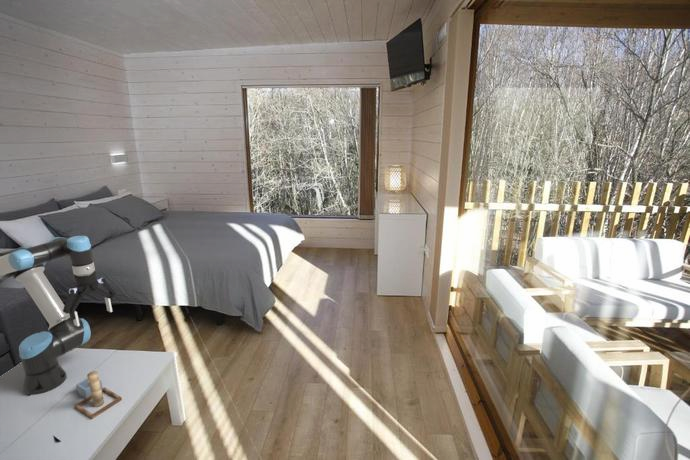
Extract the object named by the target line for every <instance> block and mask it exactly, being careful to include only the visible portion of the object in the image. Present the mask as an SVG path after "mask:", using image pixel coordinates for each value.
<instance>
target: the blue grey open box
mask: <svg viewBox="0 0 690 460" xmlns="http://www.w3.org/2000/svg"><path fill="white" fill-rule="evenodd" d="M99 380H100V379H99ZM102 383H103V382H102V380H100V385H101V389H103V388H104V387H103V384H102ZM76 389H77V390H76V391H77V393H78V395H80V396H82V397H83V398H84V399H86V398H88V397H89V396H91V391H90V386H89V382H88V377H87V378H86V379H84V380H82V381H80V382H78V383H76Z"/></svg>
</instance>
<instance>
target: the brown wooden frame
mask: <svg viewBox="0 0 690 460" xmlns="http://www.w3.org/2000/svg"><path fill="white" fill-rule="evenodd" d="M101 390H102V394H103V393H105V394H107V395H108V396H111V398H112V397H113V398H114V400H112V401H111V402H109V403H107V404H106V405H105V406H102V407H101V408H99V409H98V410H97V411H95V412H93V413H91V412H90V411H88V410H87V409H86V408H84V407H82V406H84V405H85V404H87V403H88V402H89V403H90V401H93V400H92V395H91V396H89V397H88V398H84V399H83V400H81V401H79V402H78V403H76V404H75V405H74V408H75V409H76V410H77V411H79V412H81V413H82V414H84V416H87V417H88V418H89V419H91V420H93V419H95V418H96V417H99V415H101V414H103V413H104V412H106V411H108V410H109V409H110V408H112V407H113V406H114V405H117V404H119V403H120V402H121V401H123V400H122V397H121V396H120V395H118V394H116V393H115V392H113V391H111V390H110V389H108V388H107V387H103V389H101Z"/></svg>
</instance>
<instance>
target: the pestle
mask: <svg viewBox="0 0 690 460" xmlns="http://www.w3.org/2000/svg"><path fill="white" fill-rule="evenodd" d="M86 376H87V378H88V382H89V386H90V391H91V395H92V400H91V401H92V403H93V407H94V408H100V407H101V406H102V407H103V405H104V404H105V400H104V395H103V393H102V390H101V385H100V376H99V372H98V371H97V370H93V371H90V372H89V373H87V375H86Z"/></svg>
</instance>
